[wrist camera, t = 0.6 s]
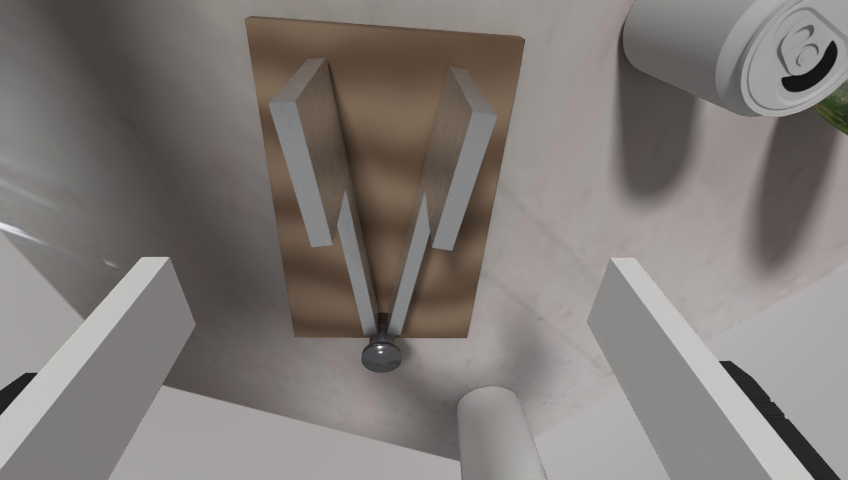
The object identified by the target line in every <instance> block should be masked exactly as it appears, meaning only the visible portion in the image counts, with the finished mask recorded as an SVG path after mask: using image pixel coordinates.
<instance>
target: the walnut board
mask: <svg viewBox="0 0 848 480" xmlns="http://www.w3.org/2000/svg"><path fill="white" fill-rule="evenodd" d="M245 24H246V30H247V37H248V43H249V49H250V56H251V62H252V68H253V75H254V81H255V87H256V94H257V100H258V106H259V113H260V119H261V126H262V132H263V138H264V145H265V151H266V157H267V164H268V170H269V176H270V183H271V189H272V196H273V202H274V208H275V215H276V221H277V227H278V234H279V240H280V246H281V253H282V259H283V265H284V272H285V278H286V285H287V291H288V297H289V304H290V310H291V316H292V323H293V329H294V335H295V337H350V338H370V335H364V332H363V328H362V324H361V320H360V316H359V312H358V308H357V304H356V300H355V296H354V292H353V288H352V284H351V280H350V276H349V272H348V268H347V264H346V259H345V255H344V251H343V247H342V243H341V239H340V235H339V231H338V227H337V229H336V233H335V238H334V242H333V245H328V246H319V247H311V243H310V240H309V237H308V233H307V230H306V227H305V223H304V220H303V217H302V213H301V210H300V207H299V203H298V200H297V197H296V193H295V190H294V187H293V184H292V180H291V177H290V174H289V170H288V167H287V164H286V160H285V157H284V154H283V150H282V147H281V144H280V140H279V137H278V134H277V130H276V127H275V124H274V120H273V117H272V114H271V110H270V107H269V102H270V101H271V100H272V99H273V98H274V97H275V96H276V95H277V93H278V92H279V91H280V90H281V89H282V88H283V87H284V85H285V84H286V83H287V82H288V81H289V80H290V79H291V78H292V76H293V75H294V74H295V73H296V72H297V71H298V70H299V69H300V67H301V66H302V65H303V64H304V63H305V62H306V61H307V60H308V59H313V58H323V57H326V58H327V63H328V68H329V73H330V78H331V83H332V87H333V92H334V97H335V102H336V107H337V112H338V117H339V121H340V126H341V131H342V136H343V141H344V146H345V150H346V155H347V160H348V165H349V171H350V176H351V181H352V186H353V190H354V195H355V200H356V205H357V210H358V215H359V219H360V224H361V229H362V234H363V239H364V244H365V248H366V253H367V258H368V263H369V268H370V273H371V278H372V282H373V287H374V292H375V297H376V302H377V307H378V313H381V312H385V313H388V308H389V304H390V300H391V296H392V292H393V288H394V284H395V280H396V276H397V272H398V268H399V264H400V260H401V256H402V252H403V248H404V244H405V240H406V236H407V232H408V228H409V224H410V220H411V216H412V212H413V208H414V205H415V201H416V197H417V193H418V189H419V185H420V181H421V177H422V172H423V168H424V164H425V160H426V156H427V152H428V148H429V144H430V140H431V136H432V132H433V128H434V124H435V120H436V116H437V112H438V108H439V104H440V101H441V97H442V93H443V89H444V85H445V81H446V77H447V73H448V69H449V65H450V66H454V67H458V68H462V69H466V70H467V71H468V73H469V74H470V76H471V77H472V79H473V80H474V82H475V83H476V85H477V86H478V88H479V90H480V91H481V93H482V94H483V96H484V97H485V99H486V100H487V102H488V103H489V105H490V106H491V108H492V109H493V111H494V112H495V114H496V115H497V119H496V122H495V125H494V127H493V130H492V133H491V136H490V139H489V142H488V145H487V148H486V151H485V154H484V157H483V160H482V163H481V166H480V169H479V172H478V175H477V178H476V181H475V184H474V187H473V190H472V193H471V196H470V199H469V202H468V205H467V208H466V211H465V214H464V217H463V220H462V223H461V226H460V229H459V232H458V235H457V238H456V240H455V243H454V246H453V249H452V251H451V250H444V249H438V248H432V243H431V236H430V234H429V237H428V241H427V244H426V247H425V251H424V254H423V258H422V261H421V265H420V268H419V272H418V275H417V279H416V282H415V286H414V289H413V292H412V296H411V299H410V303H409V306H408V310H407V313H406V317H405V320H404V324H403V327H402V330H401V334H400V335H395V338H467V335H468V329H469V324H470V319H471V314H472V309H473V304H474V299H475V294H476V289H477V284H478V278H479V273H480V268H481V263H482V258H483V253H484V248H485V243H486V238H487V232H488V227H489V222H490V217H491V212H492V207H493V202H494V197H495V192H496V187H497V181H498V176H499V171H500V166H501V161H502V156H503V151H504V146H505V141H506V135H507V130H508V125H509V120H510V115H511V110H512V105H513V100H514V95H515V90H516V84H517V79H518V74H519V69H520V64H521V59H522V54H523V49H524V44H525V39H523V38H522V37H520V36H510V35H497V34H483V33H470V32H457V31H443V30H430V29H417V28H403V27H390V26H377V25H363V24H350V23H337V22H323V21H310V20H297V19H283V18H270V17H257V16H251V17H248V18H246V19H245Z"/></svg>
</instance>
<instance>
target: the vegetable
mask: <svg viewBox="0 0 848 480" xmlns="http://www.w3.org/2000/svg"><path fill="white" fill-rule="evenodd" d="M813 107H814V108H815V110H816V111H817V112H818V113H819V114H820V115H821V116H822V117H823V118H824V119H825V120H826V121H828V122H829V123H830V124H832V125H833V126H834V127H836V128H837V129H839V130H840V131H842V132H843V133H845V134H846V135H848V78H847V79H846V80H845V81H844V82H843V83H842V84H841V85H840V86H839V87H838V88H837V89H836V90H835V91H834V92H832V93H831V94H830V95H828V96H827V97H826V98H824V99H823V100H821V101H820V102H818V103H817V104H815V105H813Z"/></svg>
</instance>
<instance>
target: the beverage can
mask: <svg viewBox="0 0 848 480" xmlns="http://www.w3.org/2000/svg"><path fill="white" fill-rule="evenodd" d="M623 47H624V51H625V54H626V57H627V59H628V60H629V62H630V63H631V64H632V65H633V66H634V67H635V68H636V69H638V70H639V71H641V72H644V73H646V74H648V75H650V76H653V77H655V78H657V79H659V80H662V81H664V82H666V83H668V84H671V85H673V86H675V87H677V88H680V89H682V90H684V91H686V92H689V93H691V94H693V95H695V96H698V97H700V98H702V99H704V100H707V101H709V102H711V103H713V104H716V105H718V106H720V107H722V108H725V109H727V110H729V111H731V112H734V113H736V114H739V115H742V116H749V117H754V116H768V117H782V116H787V115H791V114H794V113H798V112H801V111H803V110H805V109H807V108H809V107H811V106H813V105H815V104H817V103H818V102H820V101H821V100H823V99H824V98H826V97H827V96H828V95H830V94H831V93H832V92H834V91H835V90H836V89H837V88H838V87H839V86H840V85H841V84H842V83H843V82H844V81H845V80H846V79H847V78H848V0H636V1H635V2H634V4H633V6H632V7H631V9H630V11H629V14H628V16H627V19H626V22H625V25H624V30H623Z"/></svg>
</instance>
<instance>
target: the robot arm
mask: <svg viewBox="0 0 848 480" xmlns="http://www.w3.org/2000/svg"><path fill="white" fill-rule="evenodd" d="M587 323H588V325H589V327H590V329H591V331H592V332H593V334H594V336H595V338H596V340H597V342H598V344H599V346H600V348H601V349H602V351H603V353H604V355H605V357H606V359H607V361H608V363H609V365H610V366H611V368H612V370H613V372H614V374H615V376H616V378H617V380H618V381H619V383H620V385H621V387H622V389H623V391H624V393H625V394H626V397H627V398H628V400H629V402H630V404H631V406H632V408H633V410H634V411H635V413H636V415H637V417H638V419H639V421H640V423H641V425H642V427H643V429H644V430H645V432H646V434H647V436H648V438H649V440H650V442H651V443H652V445H653V447H654V449H655V451H656V453H657V455H658V457H659V459H660V461H661V462H662V464H663V466H664V468H665V470H666V472H667V474H668V476H669V477H670V479H671V480H840V478H839V477H838V476H837V475H836V474H835V473H834V471H833V470H832V469H831V468H830V467H829V466H828V464H827V463H826V462H825V461H824V460H823V459H822V457H821V456H820V455H819V454H818V453H817V452H816V451H815V449H814V448H813V447H812V446H811V445H810V444H809V442H808V441H807V440H806V439H805V438H804V437H803V436H802V434H801V433H800V432H799V431H798V430H797V429H796V427H795V426H794V425H793V424H792V423H791V422H790V421H789V419H786V418H785V417H784V413H782V411H781V410H780V409H779V408H778V407H777V406H776V404H775V403H774V402H771V401H770V397H769V396H768V395H767V394H766V393H765V391H764V390H763V389H762V388H761V387H760V386H759V385H758V384H757V382H756V381H755V380H754V379H753V378H752V377H751V376H750V375H748V374H747V373H745V372H744V371H743V370H742V369H740V368H739V367H738V366H736V365H735V364H733V363H732V362H731V361H718V360H717V359H716V358H715V357H714V355H713V354H712V353H711V352H710V351H709V349H708V348H707V347H706V346H705V344H704V343H703V342H702V341H701V339H700V338H699V337H698V336H697V334H696V333H695V332H694V331H693V330H692V328H691V327H690V326H689V325H688V323H687V322H686V321H685V320H684V318H683V317H682V316H681V315H680V314H679V312H678V311H677V310H676V309H675V307H674V306H673V305H672V304H671V302H670V301H669V300H668V299H667V298H666V296H665V295H664V294H663V293H662V291H661V290H660V289H659V288H658V286H657V285H656V284H655V283H654V282H653V280H652V279H651V278H650V277H649V275H648V274H647V273H646V272H645V270H644V269H643V268H642V267H641V266H640V264H639V263H638V262H637V261H636V259H635V258H610V261H609V264H608V266H607V269H606V272H605V274H604V277H603V280H602V282H601V285H600V288H599V290H598V293H597V296H596V299H595V301H594V304H593V307H592V309H591V312H590V315H589V317H588V320H587ZM195 326H196V324H195V321H194V319H193V316H192V314H191V311H190V308H189V306H188V303H187V301H186V298H185V296H184V293H183V290H182V288H181V285H180V283H179V280H178V278H177V275H176V272H175V270H174V267H173V265H172V262H171V259H170V257H141V259H140V260H139V261H138V262H137V263H136V264H135V265H134V266H133V268H132V269H131V270H130V271H129V272H128V273H127V274H126V275H125V277H124V278H123V279H122V280H121V281H120V282H119V283H118V284H117V285H116V287H115V288H114V289H113V290H112V291H111V292H110V293H109V294H108V296H107V297H106V298H105V299H104V300H103V301H102V302H101V303H100V305H99V306H98V307H97V308H96V309H95V310H94V311H93V312H92V313H91V315H90V316H89V317H88V318H87V319H86V320H85V321H84V322H83V324H82V325H81V326H80V327H79V328H78V329H77V330H76V332H75V333H74V334H73V335H72V336H71V337H70V338H69V339H68V340H67V341H66V343H65V344H64V345H63V346H62V347H61V348H60V350H58V352H57V353H56V354H55V355H54V356H53V357H52V358H51V359H50V361H49V362H48V363H47V364H46V365H45V366H44V367H43V368H42V370H41V371H40V372H39V373H25V374H23V375H22V376H20V377H19V378H18V379H16V380H15V381H13V382H12V383H11V384H9V385H8V386H6V387H5V388H3V389H2V390H1V391H0V480H108V479H109V477H110V475H111V473H112V471H113V470H114V468H115V466H116V465H117V463H118V461H119V459H120V458H121V456H122V454H123V452H124V451H125V449H126V447H127V445H128V443H129V442H130V440H131V438H132V437H133V435H134V433H135V431H136V430H137V428H138V426H139V424H140V422H141V421H142V419H143V417H144V415H145V414H146V412H147V410H148V408H149V407H150V405H151V403H152V401H153V400H154V398H155V396H156V394H157V392H158V390H159V389H160V387H161V386H162V384H163V382H164V380H165V379H166V377H167V375H168V373H169V372H170V370H171V368H172V366H173V365H174V363H175V361H176V359H177V358H178V356H179V354H180V352H181V351H182V349H183V347H184V345H185V344H186V342H187V340H188V338H189V337H190V335H191V333H192V331H193V330H194V328H195Z"/></svg>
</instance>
